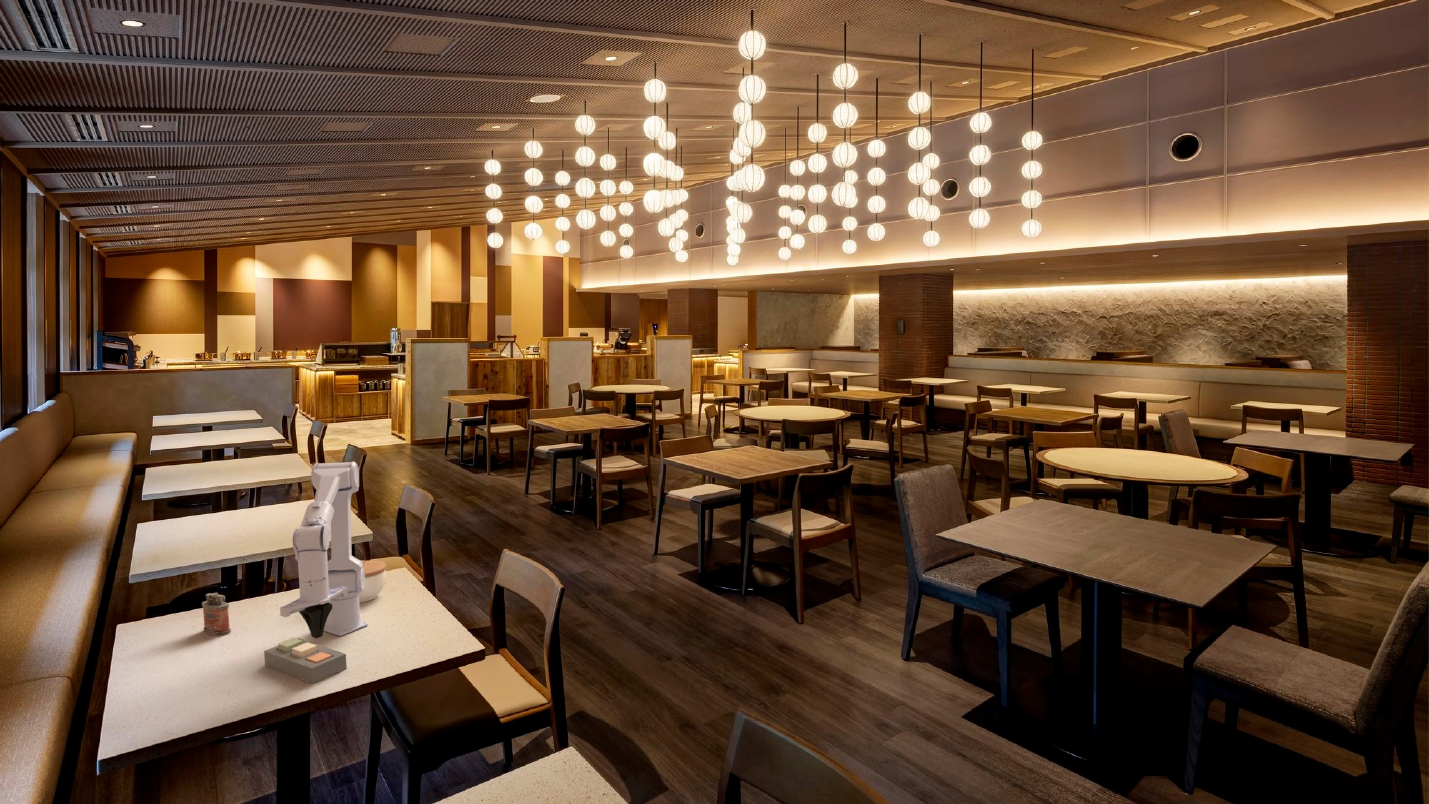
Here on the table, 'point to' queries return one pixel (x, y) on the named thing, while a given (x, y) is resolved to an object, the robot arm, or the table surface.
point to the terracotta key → (319, 657)
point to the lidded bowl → (372, 579)
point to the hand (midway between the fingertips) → (317, 636)
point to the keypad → (306, 663)
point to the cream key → (304, 650)
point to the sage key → (289, 645)
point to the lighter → (216, 615)
